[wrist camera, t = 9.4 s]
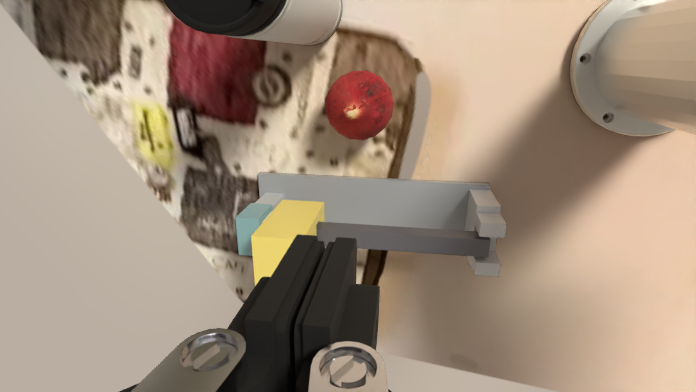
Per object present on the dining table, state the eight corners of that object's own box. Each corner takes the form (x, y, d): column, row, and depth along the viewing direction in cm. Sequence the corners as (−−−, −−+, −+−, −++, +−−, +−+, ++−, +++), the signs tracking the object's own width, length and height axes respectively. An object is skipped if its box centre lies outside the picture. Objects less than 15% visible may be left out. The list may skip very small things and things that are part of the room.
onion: (366, 55, 37) (356, 55, 29) (407, 103, 38) (407, 115, 30) (321, 98, 39) (300, 109, 31) (361, 143, 40) (350, 164, 32)
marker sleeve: (324, 201, 37) (303, 239, 30) (324, 244, 39) (304, 291, 31) (282, 199, 38) (251, 236, 30) (284, 241, 39) (254, 287, 32)
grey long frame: (490, 183, 39) (510, 215, 31) (481, 248, 41) (498, 292, 34) (259, 172, 42) (226, 198, 34) (264, 233, 44) (233, 271, 37)
